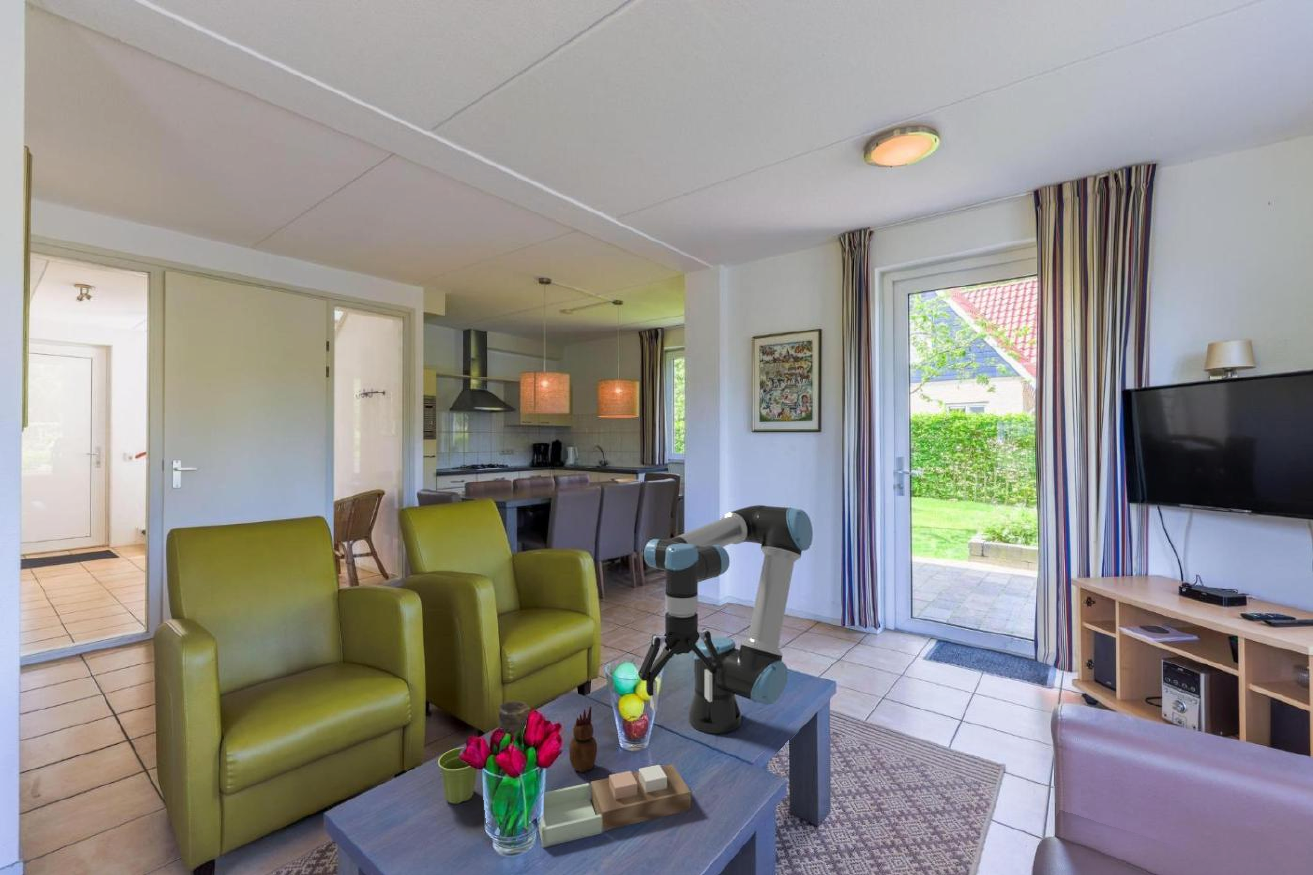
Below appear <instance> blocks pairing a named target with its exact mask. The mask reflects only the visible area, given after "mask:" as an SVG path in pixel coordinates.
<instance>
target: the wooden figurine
mask: <svg viewBox="0 0 1313 875" xmlns="http://www.w3.org/2000/svg"><path fill="white" fill-rule="evenodd" d="M593 726H594V725H593V724H592V706H590V707H589V709H588V714H587V713H586V709H583V715H582V713H579V717H576V720H575V724H574V725H573V728H572V732H573V733H572V734H573V737H572V738H571V740H570V742H569V745H568V746H569V748H568V749H569V761H570V764H571V767H572V768H573V769H574V770H575V771H577V772H583V773H584V772H588V771H590V770H591V769H593V767H594V765H595V763H596V760H597V754H598V742H597V740H596V739H595V737H593V735H594V727H593Z"/></svg>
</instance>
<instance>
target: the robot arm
mask: <svg viewBox="0 0 1313 875" xmlns="http://www.w3.org/2000/svg"><path fill="white" fill-rule="evenodd" d="M813 534H814V533H813V526H812V521H811V518H810V516H809V515H808V513H807V512H806V511H805V510H803V509H798V508H793V507H782V506H771V505H762V504H761V505H760V504H757V505H750V506H747V507H743V508H739V509H736V510H733V511H730V512H728V513H725V514H724V515H723V516H722V518H721V519H719V520H716V521H713V522H710V523H708V524H705V525H704V526H701V527H697V528H696V529H695V528H694V529H692V530H690V531H687V532H685V533H683V534H679V535H678V536H675V537H671V538H668V539H663V538H662V539H661V538H658V539H657V538H653V539H651V540H649V541H648V542H647V543H646V544H645V547H644V550H643V556H644V561H645V563H646V565H647V566H648V567H650V568H653V569H657V570H659V571H660V570H661V571H665V573H664V574H665V591H664V592H665V594H664V596H665V599H664V602H665V605H664V606H665V609H664V610H665V614H664V615H665V616H664V619H665V620H664V624H665V625H664V626H665V627H664V628H665V629H664V630H665V633H664V635H660V636H659V635H657V634H653V635H651V642H650V643H651V644H650V647H649V649H648V650H647V653H646V656H645V658H644V660H643V662H642V664H641V666H640V668H639V671H638V674H637V675H638V676H639V678H640V680H641V681H643V682H645V681H646V682H645V686H646V688H645V690H646V694H647V695H648V696H649V699H650V700H649V706H650V708H651V709H652V711H653V712H658V682H657V680H656V679H657V677H658V676H659V674H660V673H661V672H662V670H663V669H664V668H665V666H666V664H667V663H668V661H669V660H670V659H672V658H673V657H674V655H676V656H677V655H681V654H690V653H691V652H693V653H694V656H693V659H694V693H693V698H692V700H691V702H690V706H689V710H688V723H689V724H690V725H691V726H692V727H693V728H694V729H696V730H698V731H701V732H704V733H707V734H716V735H717V734H718V735H720V734H728V733H731V732H734V731H736V730H737V729H738V728H739V727H741V724H742V713H741V710H740V707H739V704H738V700H737V696H739V697H742V698H745V699H747V700H750V701H752V702H754V703H758V704H759V703H760V704H763V705H772V704H774V703H775V702H777V701H778V699H779V698H780V697H781V696H782V694H783V692H784V690H785V688H786V685H787V683H788V682H787V681H788V676H789V674H788V667H787V665H786V663H785V662H784V661H783V653H782V651H781V650H780V647H779V646H780V640H781V636H782V629H783V624H784V619H785V614H786V608H787V604H788V603H787V602H788V597H789V591H790V586H791V583H792V582H791V581H792V577H793V570H794V566H795V562H796V561H798V560H800V559H801V557H802V553H803V552H804V551H805V552H806V551H808V549H810V547H811V545H812V543H813ZM742 543H754V544H759V545H761V546H760V550H761V552H762V553H763V554H764V557H763V563H762V566H761V570H760V571H761V572H760V576H759V582H758V587H757V590H756V595H755V596H756V597H755V601H754V605H753V606H754V607H753V611H752V616H751V621H750V627H749V630H748V635H747V639H745V640H744V641H742V642H741V644H740V648H739V649H738V648H736V646H737V644H736V642H735V640H734V639H732V638H729V637H720V636H719V637H717V636H716V637H712V635H711V632H710V631H709V630H708V629H707V628H702V630H698V629H699V626H698V625H699V623H698V622H699V619H698V618H699V615H698V614H699V613H697V612H698V610H699V608H698V607H699V602H698V600H699V595H698V594H699V593H698V592H699V591H698V589H699V587H698V586H699V583H700V582H704V581H706V580H710V579H713V578H714V579H715V578H718V577H719V576H721V575H724V574H725V573H726V572H727V571H728V569H729V567H730V562H731V561H730V556H729V553H728V551H727V550H726V549H725V547H727V546H728V545H730V544H733V545H740V544H742ZM699 639H701V641H699ZM698 641H699V642H698ZM663 643H665V645H664V647H662V645H663ZM660 647H662V652H661V653H660V654H659V656H658V653H659V650H660ZM657 656H658V657H657ZM656 657H657V659H656Z"/></svg>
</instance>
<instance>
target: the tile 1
mask: <svg viewBox="0 0 1313 875" xmlns="http://www.w3.org/2000/svg"><path fill="white" fill-rule="evenodd" d="M632 773H633V772H632V771H631V770H628V771H622V772H617V773H613V774H609V775H608V778H609V787H610V789H611V792H612V794H613V796H614V798H615V800H617V799H621V798H625V797H630V796H634V795H637V782H636V780H635V778H634V777H633V775H632Z"/></svg>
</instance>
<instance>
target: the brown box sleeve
mask: <svg viewBox="0 0 1313 875" xmlns="http://www.w3.org/2000/svg"><path fill="white" fill-rule="evenodd" d="M660 767H661V768H662V770H663V771H664V773H665V775H666V776H667V788H665V789H661V790H656V791H652V792H648V793H646V792H645V790H644V789H643V787H642V785H641V783H640V781H639V771H634V772H631V773H632V775H633V777H634V778H635V780H636V782H637V795H634V796H630V797H625V798H621V799H617V800H615V798H614V796H613V794H612V792H611V789H610V787H609V777H607V778H603V779H598V780H592V781H590V801H591V804H592V807H593V809H594V812H595V815H599V814H601V816H602V832H605V831H609V830H614V829H617V828H618V829H619V828H622V827H625V826H630V825H633V824H639V823H642V822H647V821H650V820H655V819H659V818H663V817H666V816H671V815H675V814H679V813H684V812H687V811H691V810H692V803H691V802H692V796H691V795H692V791H691V790H690V788H689V787H688V785H687V784H686V782H685V781H684V779H683V778H682V776H681V775H680V773H679V771H677V768H675V767H676V766H674V764H668V765H664V766H660Z"/></svg>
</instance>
